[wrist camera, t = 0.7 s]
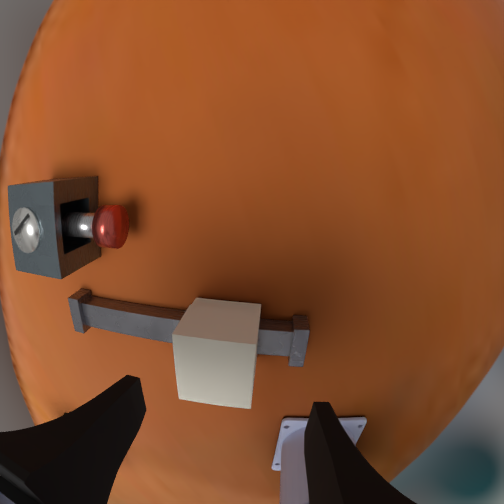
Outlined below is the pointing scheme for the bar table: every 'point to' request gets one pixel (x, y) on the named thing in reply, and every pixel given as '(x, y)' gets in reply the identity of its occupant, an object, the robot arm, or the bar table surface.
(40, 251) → the gauge cabinet
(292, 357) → the rail
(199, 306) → the carriage
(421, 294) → the bar table surface
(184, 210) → the bar table surface
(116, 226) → the plunger
